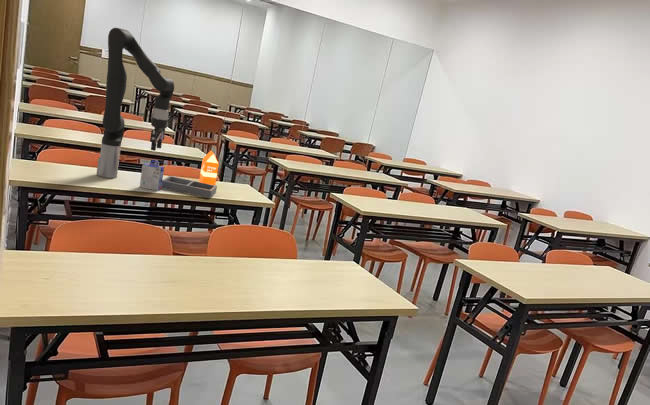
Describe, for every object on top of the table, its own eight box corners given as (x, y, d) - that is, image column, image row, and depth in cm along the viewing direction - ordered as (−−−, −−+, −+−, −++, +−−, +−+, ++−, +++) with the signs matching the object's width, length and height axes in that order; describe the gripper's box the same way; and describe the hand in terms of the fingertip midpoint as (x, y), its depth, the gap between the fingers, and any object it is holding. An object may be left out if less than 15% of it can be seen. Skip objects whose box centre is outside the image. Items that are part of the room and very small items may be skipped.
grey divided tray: (160, 187, 258) (161, 180, 257) (168, 182, 272) (169, 175, 271) (210, 198, 260) (211, 190, 259) (215, 192, 273) (217, 185, 272)
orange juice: (211, 183, 291) (217, 151, 287) (214, 187, 284) (220, 154, 279) (198, 182, 288) (203, 149, 283) (201, 186, 280) (207, 152, 275)
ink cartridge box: (161, 189, 256) (165, 162, 253) (158, 191, 251) (161, 164, 247) (143, 185, 256) (146, 158, 253) (139, 187, 250) (142, 160, 247)
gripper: (157, 115, 252) (153, 146, 255) (147, 117, 238) (143, 149, 241) (171, 118, 252) (167, 148, 256) (163, 120, 238) (158, 152, 242)
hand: (155, 149), depth 249 cm, fingers open, 8 cm apart
